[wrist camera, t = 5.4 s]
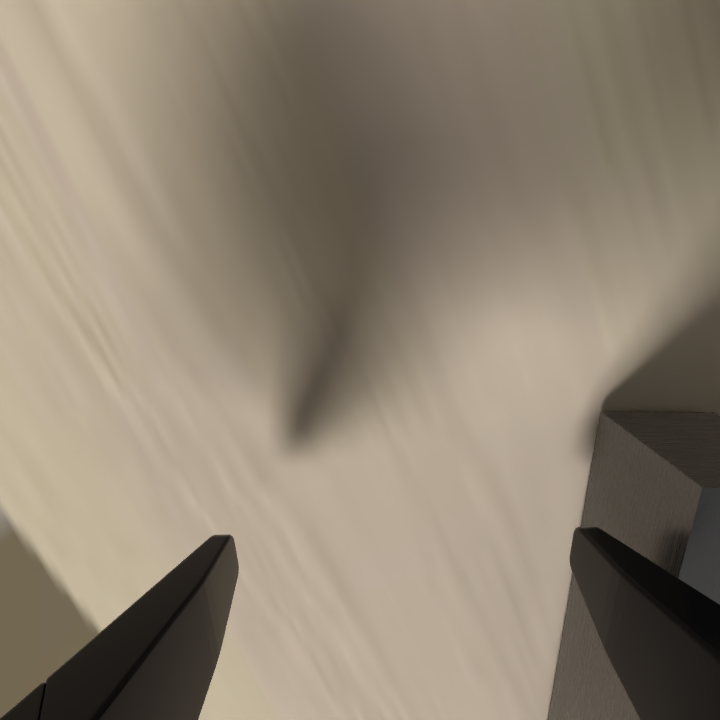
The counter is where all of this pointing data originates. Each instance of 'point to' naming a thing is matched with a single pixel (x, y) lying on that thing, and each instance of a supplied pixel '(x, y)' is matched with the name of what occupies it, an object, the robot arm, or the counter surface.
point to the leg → (642, 536)
